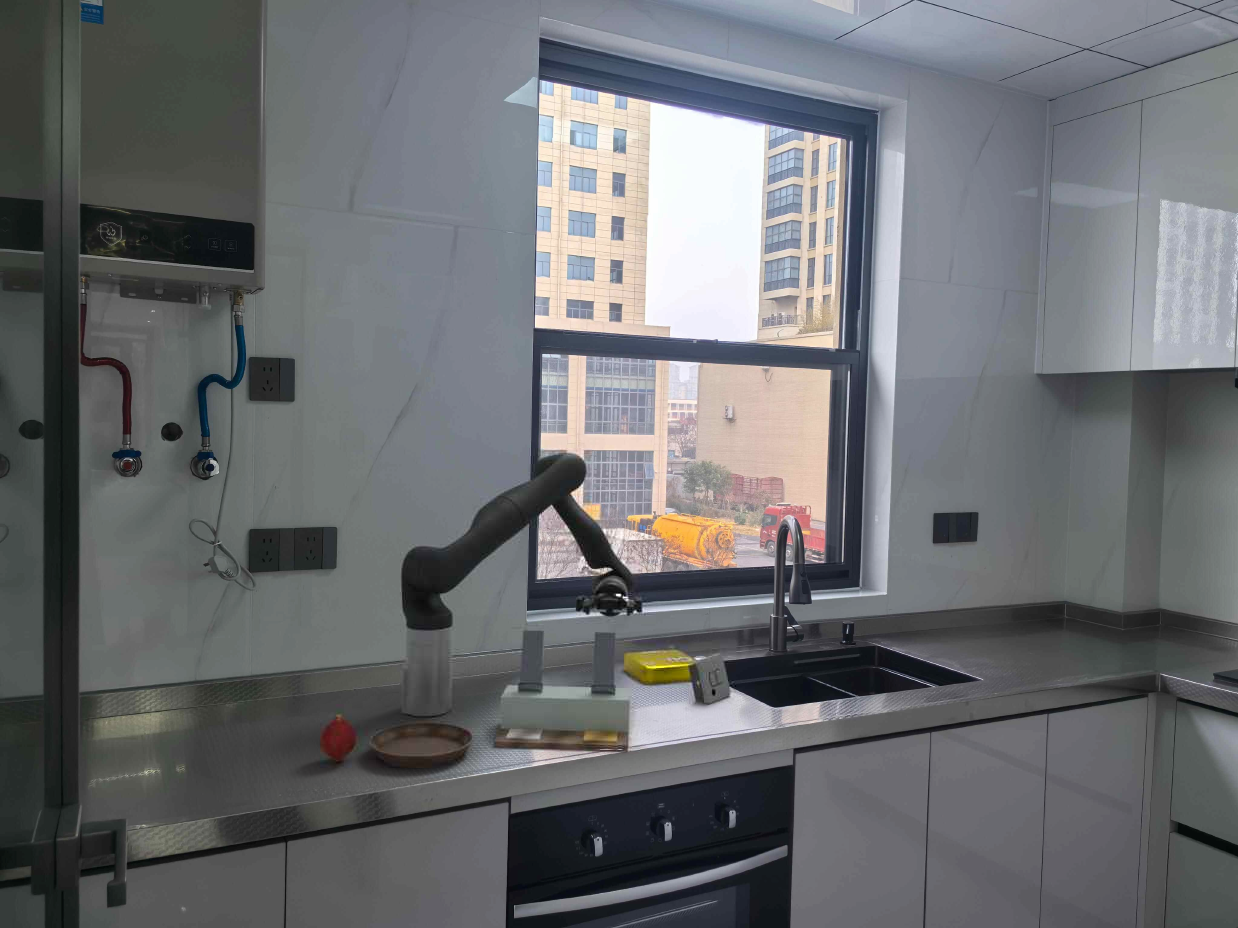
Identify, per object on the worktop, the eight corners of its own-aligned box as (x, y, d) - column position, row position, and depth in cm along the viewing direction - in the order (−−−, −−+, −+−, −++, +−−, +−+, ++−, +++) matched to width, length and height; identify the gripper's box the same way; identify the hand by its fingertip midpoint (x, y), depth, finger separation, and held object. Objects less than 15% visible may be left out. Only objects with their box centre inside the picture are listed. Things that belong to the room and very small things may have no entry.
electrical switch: (708, 705, 181) (705, 661, 181) (688, 702, 184) (685, 659, 184) (731, 696, 188) (728, 653, 188) (711, 693, 191) (709, 652, 192)
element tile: (677, 666, 215) (677, 647, 215) (703, 681, 201) (704, 661, 201) (621, 670, 209) (621, 650, 209) (644, 686, 195) (645, 665, 195)
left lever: (517, 690, 163) (521, 630, 167) (518, 690, 164) (522, 631, 168) (541, 691, 163) (545, 630, 166) (542, 691, 164) (546, 631, 168)
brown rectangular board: (493, 746, 153) (494, 738, 153) (508, 718, 169) (508, 711, 169) (627, 750, 152) (627, 742, 152) (629, 722, 168) (629, 715, 168)
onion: (325, 755, 148) (325, 709, 147) (359, 754, 148) (359, 708, 148) (316, 767, 142) (316, 719, 142) (351, 767, 142) (352, 719, 142)
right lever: (591, 692, 162) (593, 631, 166) (591, 692, 164) (593, 633, 168) (615, 693, 162) (616, 632, 166) (615, 693, 164) (617, 633, 168)
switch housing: (500, 728, 160) (501, 696, 160) (507, 715, 168) (507, 684, 168) (628, 732, 159) (629, 700, 159) (629, 718, 167) (629, 688, 167)
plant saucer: (462, 733, 161) (462, 717, 161) (482, 766, 144) (482, 748, 144) (364, 743, 154) (365, 726, 154) (374, 779, 138) (374, 760, 138)
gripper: (579, 579, 194) (574, 591, 177) (642, 580, 193) (642, 592, 177) (579, 612, 194) (573, 627, 178) (642, 613, 193) (641, 628, 177)
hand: (607, 610), depth 177 cm, fingers open, 8 cm apart
